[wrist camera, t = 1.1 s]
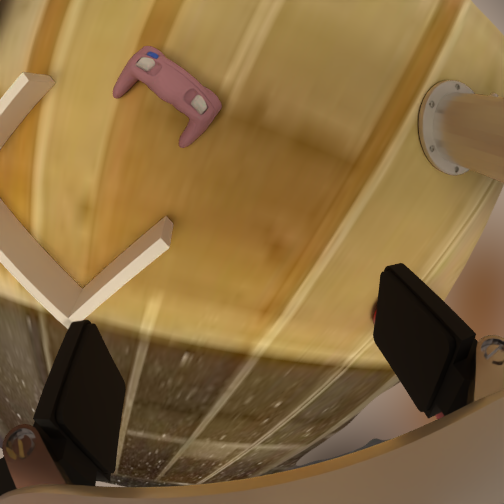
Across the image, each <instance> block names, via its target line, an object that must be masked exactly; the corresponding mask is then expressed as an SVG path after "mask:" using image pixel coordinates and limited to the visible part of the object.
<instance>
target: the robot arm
mask: <svg viewBox="0 0 504 504" xmlns="http://www.w3.org/2000/svg"><path fill="white" fill-rule="evenodd" d="M419 136H420V141H421V145H422V148H423V150H424V153H425V155H426V156H427V158H428V160H429V161H430V162H431V164H432V165H433V166H434V167H435V168H437V169H438V170H440V171H442V172H444V173H447V174H450V175H460V174H463V173H465V172H467V171H469V170H472V171H475V172H478V173H480V174H483V175H485V176H488V177H490V178H493V179H495V180H498V181H500V182H503V183H504V98H502V97H498V95H497V94H496V93H491V94H490V95H489V96H488V95H479V94H475V93H474V92H473V91H472V90H471V89H470V88H469V87H468V86H467V85H465V84H464V83H461V82H459V81H453V80H445V81H441V82H439V83H437V84H435V85H434V86H433V87H432V88H431V89H430V90H429V91H428V92H427V94H426V96H425V97H424V100H423V102H422V105H421V109H420V114H419ZM475 335H476V334H475V333H474V331H473V330H472V329H471V328H470V327H469V326H468V325H467V324H466V323H465V322H464V321H463V320H462V319H461V318H460V317H459V316H458V315H457V314H456V313H455V312H454V311H453V310H452V309H451V308H450V307H449V306H448V305H447V304H446V303H445V302H444V301H443V300H442V299H441V298H440V297H439V296H438V295H436V294H435V293H434V292H433V291H432V290H431V289H430V288H429V287H428V286H427V285H426V284H425V283H424V282H423V281H422V280H421V279H419V278H418V277H417V276H416V275H415V274H414V273H413V272H412V271H411V270H410V269H409V268H407V267H406V266H405V265H404V264H403V263H399V264H395V265H390V266H387V267H386V268H385V270H384V272H382V273H381V275H380V284H379V294H378V302H377V310H376V318H375V325H374V332H373V337H374V341H375V343H376V345H377V346H378V348H379V349H380V351H381V352H382V354H383V355H384V357H385V358H386V360H387V361H388V363H389V364H390V366H391V368H392V369H393V371H394V372H395V374H396V375H397V377H398V378H399V380H400V381H401V383H402V384H403V386H404V387H405V389H406V391H407V392H408V394H409V396H410V397H411V399H412V400H413V402H414V403H415V405H416V407H417V408H418V410H419V411H421V412H424V413H425V414H426V416H427V417H428V418H430V417H432V416H435V415H437V414H439V413H441V412H442V413H443V414H444V417H442V418H440V419H438V420H435V421H433V422H431V423H429V424H426V425H424V426H422V427H420V428H418V429H415V430H413V431H410V432H408V433H406V434H403V435H401V436H398V437H396V438H393V439H391V440H388V441H386V442H383V443H380V444H378V445H375V446H372V447H369V448H366V449H363V450H361V451H358V452H354V453H351V454H348V455H345V456H342V457H338V458H335V459H332V460H328V461H325V462H321V463H317V464H314V465H310V466H306V467H302V468H298V469H293V470H289V471H284V472H280V473H275V474H270V475H265V476H259V477H254V478H247V479H241V480H234V481H227V482H219V483H210V484H200V485H188V486H172V487H99V486H95V483H96V481H106V482H110V476H111V473H114V471H115V466H116V456H117V447H118V439H119V431H120V423H121V416H122V409H123V402H124V396H125V382H124V380H123V378H122V376H121V374H120V372H119V370H118V368H117V367H116V365H115V363H114V361H113V359H112V357H111V355H110V353H109V351H108V349H107V347H106V345H105V343H104V341H103V339H102V337H101V335H100V332H99V330H98V328H97V326H96V325H95V324H91V322H90V321H89V320H82V321H74V322H72V323H71V324H70V326H69V329H68V331H67V333H66V335H65V338H64V340H63V342H62V344H61V347H60V349H59V351H58V354H57V356H56V359H55V361H54V363H53V366H52V368H51V371H50V373H49V376H48V379H47V381H46V384H45V386H44V389H43V392H42V395H41V397H40V400H39V403H38V406H37V409H36V412H35V415H34V418H33V419H34V420H35V422H34V425H33V426H31V425H28V424H22V425H18V426H16V427H14V428H13V429H12V430H10V431H9V432H8V434H7V435H6V436H5V439H4V441H3V447H2V449H3V455H4V457H3V458H1V459H0V504H504V338H503V337H500V336H497V335H488V336H484V337H483V338H481V339H480V340H479V342H477V340H476V339H475Z"/></svg>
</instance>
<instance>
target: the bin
mask: <svg viewBox="0 0 504 504" xmlns="http://www.w3.org/2000/svg"><path fill="white" fill-rule="evenodd" d="M54 84H55V82H54V81H53V79H52V78H51V77H50V76H48V75H41V74H34V73H26V72H22V73H21V75H20V76H19V77H18V78H17V79H16V80H15V82H14V83H13V84H12V85H11V87H10V88H9V89H8V90H7V91H6V93H5V94H4V95H3V97H2V98H1V99H0V149H1V148H2V146H3V145H4V144H5V142H6V141H7V140H8V138H9V137H10V136H11V134H12V133H13V132H14V130H15V129H16V128H17V127H18V125H19V124H20V123H21V122H22V120H23V119H24V118H25V117H26V116H27V114H28V113H29V112H30V111H31V110H32V108H33V107H34V106H35V105H36V104H37V103H38V102H39V100H40V99H41V98H42V97H43V96H44V95H45V94H46V93H47V92H48V91H49V89H50V88H51V87H52V86H53V85H54ZM172 230H173V223H172V222H171V221H170V219H169V218H168V217H167V216H165V217H164V218H163V219H161V220H160V221H159V222H158V223H157V224H155V225H154V226H153V227H152V228H151V229H149V230H148V231H147V232H146V233H145V234H144V235H142V236H141V237H140V238H139V239H138V240H136V241H135V242H134V243H133V244H132V245H131V246H129V247H128V248H127V249H126V250H125V251H124V252H123V253H121V254H120V255H119V256H118V257H117V258H116V259H115V260H114V261H112V262H111V263H110V264H109V265H108V266H107V267H106V268H105V269H103V270H102V271H101V272H100V273H99V274H98V275H97V276H96V277H95V278H94V279H93V280H91V281H90V282H89V283H88V284H87V285H86V286H85V287H84V288H83V289H82V288H81V287H80V286H79V285H78V284H77V283H76V282H75V281H74V280H73V279H72V278H71V277H70V276H69V275H68V274H67V273H66V272H65V271H64V270H63V269H62V268H61V267H60V266H59V265H58V264H57V263H56V262H55V261H54V260H53V258H52V257H51V256H50V255H49V254H48V253H47V252H46V251H45V250H44V249H43V248H42V247H41V246H40V245H39V243H38V242H37V241H36V240H35V239H34V238H33V237H32V236H31V234H30V233H29V232H28V231H27V230H26V229H25V228H24V226H23V225H22V224H21V223H20V222H19V221H18V219H17V218H16V217H15V216H14V215H13V213H12V212H11V211H10V210H9V209H8V207H7V206H6V205H5V204H4V202H3V201H2V200H1V199H0V262H1V263H2V264H3V265H4V267H5V268H6V269H7V270H8V271H9V272H10V273H11V274H12V275H13V276H14V277H15V278H16V280H17V281H18V282H19V283H20V284H21V285H22V286H23V287H24V288H25V289H26V290H27V291H28V292H29V293H30V294H31V295H32V296H33V297H34V298H35V299H36V300H37V301H38V302H39V303H40V304H41V305H42V306H43V307H45V308H46V309H47V310H48V311H49V312H50V313H51V314H52V315H53V316H54V317H55V318H56V319H57V320H59V321H60V322H61V323H62V324H63V325H64V326H65V327H66V328H68V329H69V326H70V324H71V323H72V322H74V321H82V320H83V319H85V318H86V317H87V316H88V315H89V314H90V313H91V312H93V311H94V310H95V309H96V308H97V307H98V306H100V305H101V304H102V303H103V302H104V301H105V300H107V299H108V298H109V297H110V296H111V295H112V294H114V293H115V292H116V291H117V290H118V289H120V288H121V287H122V286H123V285H124V284H126V283H127V282H128V281H129V280H130V279H132V278H133V277H134V276H135V275H136V274H138V273H139V272H140V271H141V270H143V269H144V268H145V267H146V266H147V265H149V264H150V263H151V262H152V261H154V260H155V259H156V258H157V257H159V256H160V255H161V254H162V253H164V252H165V251H166V250H167V249H169V248H170V243H171V236H172Z"/></svg>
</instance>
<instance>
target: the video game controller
mask: <svg viewBox="0 0 504 504" xmlns="http://www.w3.org/2000/svg"><path fill="white" fill-rule="evenodd" d="M138 80H140V81H142V82H143V83H145V84H146V85H147V86H148V87H149V88H150V89H151V90H152V91H154V92H155V93H156V95H157V96H158V97H160V98H161V99H162V100H164V101H166V102H168V103H170V104H173V106H174V107H175V108H176V109H177V110H179V111H180V112H182V113H184V114H185V115H186V116H188V117H189V123H188V125H187V127H186V128H185V130H184V132H183V133H182V135H181V137H180V139H179V146H180V147H181V148H184V147H187V146H189V145H190V144H192V143H193V142H194V141H195V140H196V139H197V138H198V137H199V136H200V135H201V134H202V133H203V132H204V131H205V130H206V129H207V128H208V126H209V125H210V123H211V122H212V121H213V119H214V118H215V116H216V115H217V114H218V112H219V111H220V110H221V108H222V105H221V102H220V100H219V99H218V97H217V96H216V95H215V94H214V93H213V92H212V91H211V90H209V89H207V88H206V87H203V86H202V85H201V84H200V83H199V82H198V81H197V80H196V79H195V78H194V77H193V76H192V75H190V74H189V73H188V72H187V71H185V70H184V69H183V68H181V67H180V66H178V65H177V64H176V63H174V62H172V61H171V60H169V59H167V58H166V57H165V56H164V55H163V53H161V52H160V51H159V50H158V49H156V48H154V47H151V46H145V47H143V48H142V49H140V50H139V51H138V52H137V53H136V54H134V55H133V56H132V58H131V59H130V60H129V61H128V63H127V64H126V66H125V67H124V69H123V71H122V73H121V74H120V76H119V78H118V80H117V82H116V84H115V86H114V89H113V97H114V98H120V97H121V96H123V95H124V94H125V93H126V92H127V91H128V90H129V89H130V88H131V87H132V86H133V85H134V84H135V83H136V82H137V81H138Z"/></svg>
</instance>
